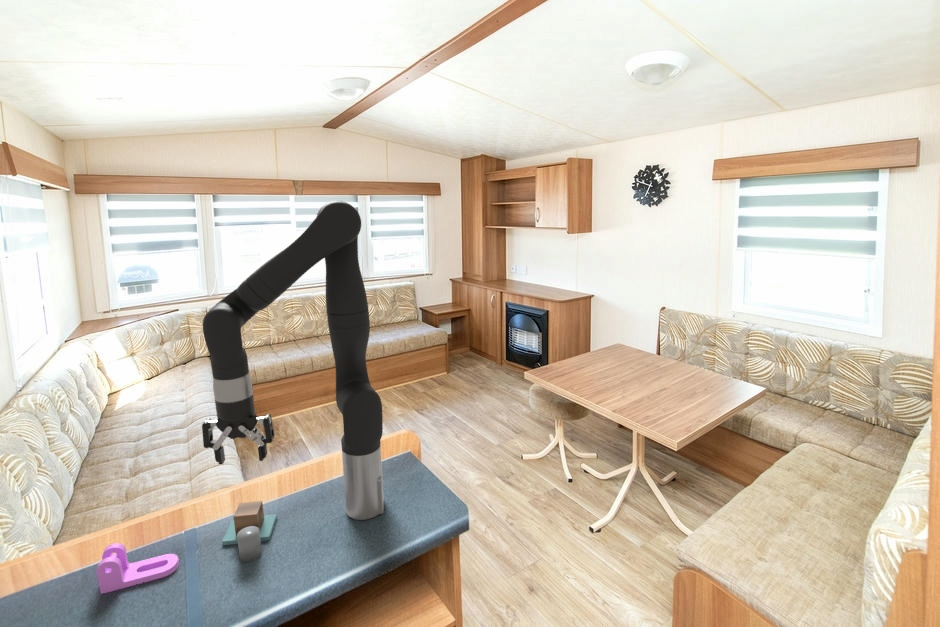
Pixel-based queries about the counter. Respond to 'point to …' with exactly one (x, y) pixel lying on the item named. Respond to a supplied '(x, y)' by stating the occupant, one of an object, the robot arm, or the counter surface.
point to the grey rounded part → (249, 543)
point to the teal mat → (264, 532)
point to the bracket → (131, 568)
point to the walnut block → (248, 515)
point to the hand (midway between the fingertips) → (242, 460)
